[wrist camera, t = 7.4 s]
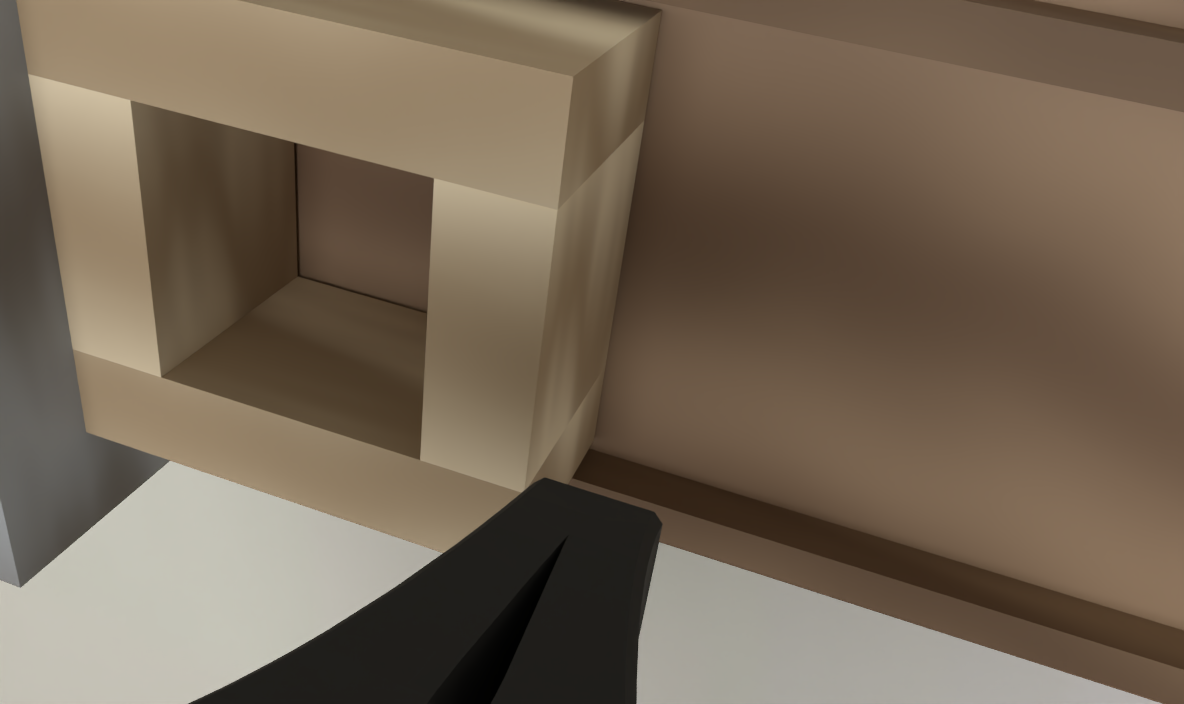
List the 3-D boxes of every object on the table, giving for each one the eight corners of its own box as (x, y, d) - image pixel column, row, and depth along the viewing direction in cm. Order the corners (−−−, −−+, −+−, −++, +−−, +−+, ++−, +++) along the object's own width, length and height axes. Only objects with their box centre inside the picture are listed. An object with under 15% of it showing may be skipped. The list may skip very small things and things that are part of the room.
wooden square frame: (594, 440, 20) (513, 577, 16) (226, 328, 21) (86, 431, 18) (662, 10, 15) (573, 76, 12) (197, -87, 17) (7, -53, 14)
